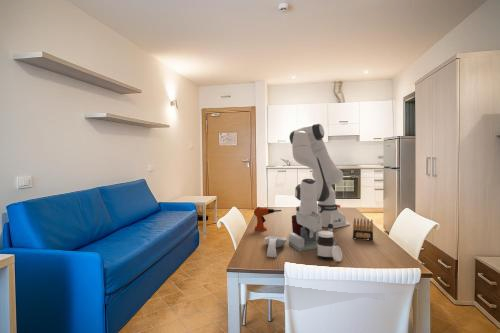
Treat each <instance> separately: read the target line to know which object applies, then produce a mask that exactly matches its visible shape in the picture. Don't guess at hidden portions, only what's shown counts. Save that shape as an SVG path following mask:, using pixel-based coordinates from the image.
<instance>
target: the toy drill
mask: <svg viewBox="0 0 500 333" xmlns="http://www.w3.org/2000/svg"><path fill="white" fill-rule="evenodd" d="M278 212H282V209H274V208H267V207H260V206H257V207H256V208H255V209H254V210H253V214H254V216H255V217H256V226H255V227H254V230H255V231H257V232H266V231H267V230H268V228H267V227H265V225H264V223H265V222H266V219H265V217H264V216H267V215H270V214H274V213H278Z"/></svg>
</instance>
